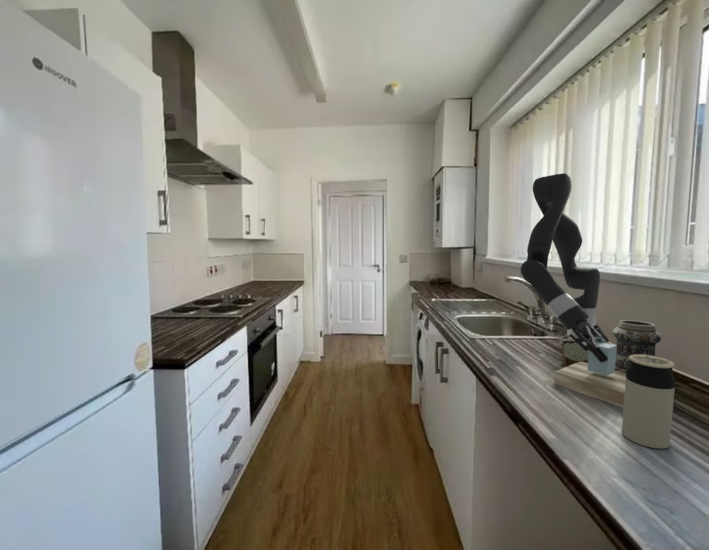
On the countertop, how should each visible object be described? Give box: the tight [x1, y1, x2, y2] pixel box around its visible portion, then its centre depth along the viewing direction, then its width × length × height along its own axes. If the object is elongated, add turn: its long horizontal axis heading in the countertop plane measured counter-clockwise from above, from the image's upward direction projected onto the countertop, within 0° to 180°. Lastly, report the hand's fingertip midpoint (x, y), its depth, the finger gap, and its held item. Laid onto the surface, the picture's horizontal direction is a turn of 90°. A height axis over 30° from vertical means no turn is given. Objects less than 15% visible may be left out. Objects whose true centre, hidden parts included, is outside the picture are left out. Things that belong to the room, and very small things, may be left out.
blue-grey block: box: [587, 341, 617, 376], centre depth 98 cm, size 5×5×8 cm
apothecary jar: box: [612, 319, 662, 373], centre depth 106 cm, size 12×12×18 cm
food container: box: [559, 334, 589, 368], centre depth 119 cm, size 12×6×10 cm, turn 84°
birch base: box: [553, 361, 626, 409], centre depth 99 cm, size 16×18×4 cm
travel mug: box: [621, 354, 676, 449], centre depth 73 cm, size 8×8×18 cm
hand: (609, 359), depth 97 cm, fingers closed on blue-grey block, 4 cm apart
